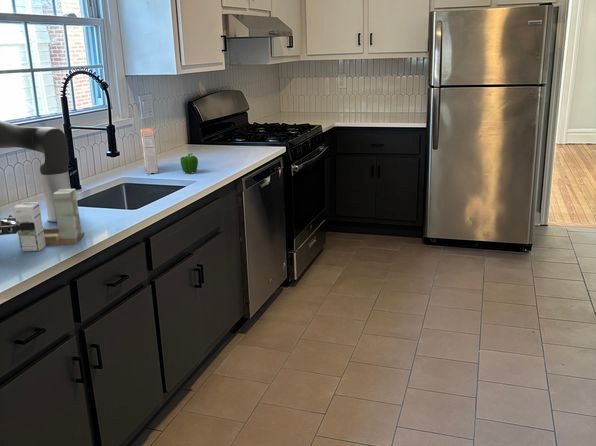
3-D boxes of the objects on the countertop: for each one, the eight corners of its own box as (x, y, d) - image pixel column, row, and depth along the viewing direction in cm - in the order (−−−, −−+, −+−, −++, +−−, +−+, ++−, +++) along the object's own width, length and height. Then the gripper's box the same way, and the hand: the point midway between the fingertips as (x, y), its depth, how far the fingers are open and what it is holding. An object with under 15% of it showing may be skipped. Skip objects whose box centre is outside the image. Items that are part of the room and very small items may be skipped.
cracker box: (144, 169, 297) (140, 128, 291) (156, 168, 299) (152, 127, 293) (146, 174, 284) (141, 132, 278) (158, 173, 286) (154, 131, 280)
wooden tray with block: (40, 236, 193) (32, 189, 188) (84, 235, 194) (77, 187, 189) (30, 245, 185) (21, 195, 180) (75, 243, 185) (68, 194, 180)
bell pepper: (179, 172, 289) (177, 152, 286) (195, 170, 292) (194, 150, 289) (183, 175, 281) (182, 154, 279) (200, 173, 285) (198, 153, 282)
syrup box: (46, 245, 184) (39, 201, 180) (39, 251, 179) (31, 206, 174) (28, 246, 184) (20, 201, 180) (20, 252, 178) (12, 206, 174)
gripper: (-32, 221, 169) (28, 217, 171) (-14, 208, 183) (42, 205, 185) (-27, 245, 171) (32, 241, 173) (-9, 231, 185) (46, 227, 187)
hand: (37, 222), depth 179 cm, fingers closed on syrup box, 6 cm apart
